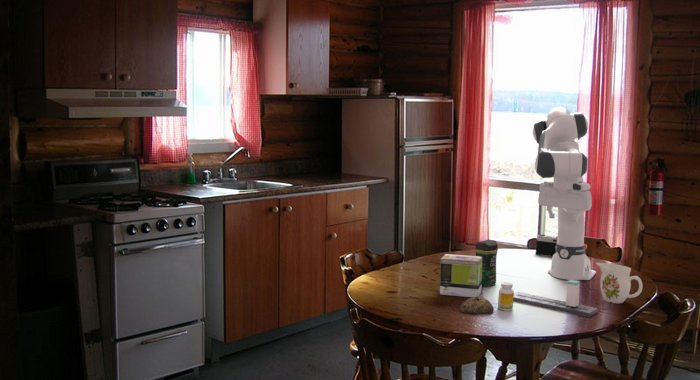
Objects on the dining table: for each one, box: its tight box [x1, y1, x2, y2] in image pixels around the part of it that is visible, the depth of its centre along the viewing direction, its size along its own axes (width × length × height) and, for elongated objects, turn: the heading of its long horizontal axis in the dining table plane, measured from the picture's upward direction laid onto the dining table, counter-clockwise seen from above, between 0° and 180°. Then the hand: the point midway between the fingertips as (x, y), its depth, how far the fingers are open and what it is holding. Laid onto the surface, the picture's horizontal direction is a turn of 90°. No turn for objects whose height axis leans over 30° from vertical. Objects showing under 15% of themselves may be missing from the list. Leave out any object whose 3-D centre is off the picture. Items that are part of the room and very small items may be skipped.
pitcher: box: [595, 262, 644, 304], centre depth 279 cm, size 11×18×14 cm, turn 51°
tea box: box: [439, 253, 483, 298], centre depth 287 cm, size 15×10×15 cm, turn 71°
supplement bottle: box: [497, 281, 515, 312], centre depth 267 cm, size 5×5×10 cm
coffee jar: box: [474, 239, 499, 287], centre depth 301 cm, size 10×8×19 cm
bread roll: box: [458, 296, 495, 315], centre depth 267 cm, size 13×12×5 cm
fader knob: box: [565, 280, 581, 307], centre depth 267 cm, size 3×4×9 cm
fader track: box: [513, 291, 599, 318], centre depth 273 cm, size 8×32×2 cm, turn 50°
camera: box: [535, 233, 558, 257], centre depth 358 cm, size 14×9×10 cm, turn 51°
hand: (563, 219), depth 278 cm, fingers open, 8 cm apart
